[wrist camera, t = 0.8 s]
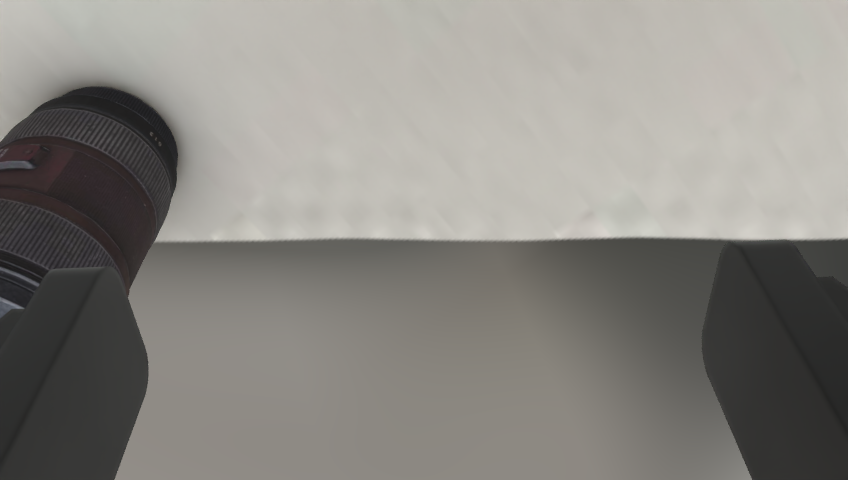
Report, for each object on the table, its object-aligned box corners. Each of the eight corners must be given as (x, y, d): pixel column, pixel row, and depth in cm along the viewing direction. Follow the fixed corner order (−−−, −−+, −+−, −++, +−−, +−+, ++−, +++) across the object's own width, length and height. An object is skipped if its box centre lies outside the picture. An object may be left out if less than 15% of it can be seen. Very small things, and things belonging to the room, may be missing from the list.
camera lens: (28, 181, 42) (-139, 399, 30) (36, 50, 37) (-158, 248, 25) (178, 225, 43) (76, 449, 31) (204, 105, 38) (96, 315, 27)
